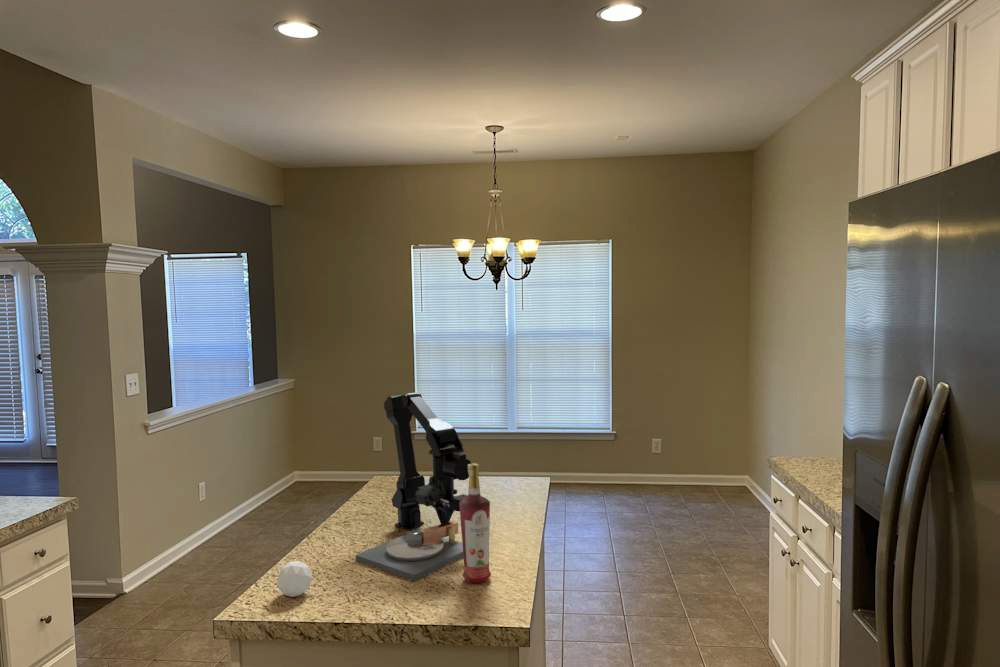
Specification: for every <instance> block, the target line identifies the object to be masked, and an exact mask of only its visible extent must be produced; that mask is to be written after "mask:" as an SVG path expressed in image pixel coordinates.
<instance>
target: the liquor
mask: <svg viewBox="0 0 1000 667" xmlns="http://www.w3.org/2000/svg"><path fill="white" fill-rule="evenodd" d="M468 474H469V478H468V479H469V480H468V493H467V495H468V497H466V498H464V499H463V500H462V501H460V503H459V507H460V511H459V518H460V519H459V521H460V531H461V540H462V542H461V543H463V573H462V578H463V579H465V580H466V582H469V583H470V584H473V585H475V584H476V585H480V584H483V583H486V581H487V580H488V579H489V578H490V577H491V576H492V572H491V571H490V527H491V526H490V520H491V519H490V517H491V516H490V515H491V512H490V511H491V509H490V508H491V506H490V505H491V502H490V500H489V499H488V498H486V497H485V496H482V495H481V489H480V488H481V487H480V479H479V478H480V477H479V476H480V475H479V474H480V464H479V463H474V462H473V463H472V462H471V464H468Z"/></svg>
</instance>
